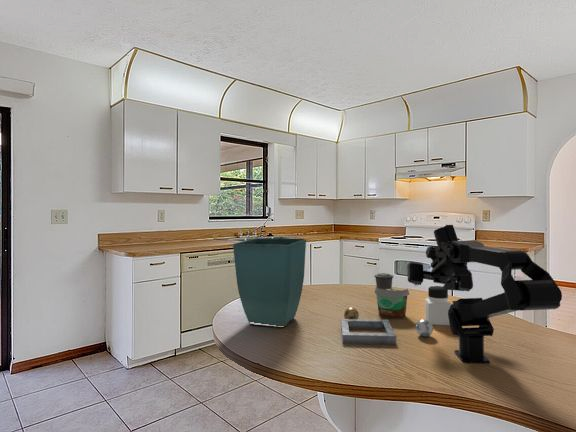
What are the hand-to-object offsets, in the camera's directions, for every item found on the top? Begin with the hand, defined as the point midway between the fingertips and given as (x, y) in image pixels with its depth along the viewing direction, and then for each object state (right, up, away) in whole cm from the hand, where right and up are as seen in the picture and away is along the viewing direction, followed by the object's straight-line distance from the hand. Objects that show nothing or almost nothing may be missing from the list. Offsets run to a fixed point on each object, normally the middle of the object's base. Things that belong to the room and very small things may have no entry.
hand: (429, 286), depth 116 cm
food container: (-9, -14, +12) cm, 20 cm away
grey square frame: (-21, -14, -6) cm, 26 cm away
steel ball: (-5, -11, -8) cm, 14 cm away
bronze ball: (-24, -11, +7) cm, 27 cm away
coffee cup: (-4, -13, +41) cm, 43 cm away
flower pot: (-51, -14, +9) cm, 54 cm away
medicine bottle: (+5, -13, +5) cm, 15 cm away
